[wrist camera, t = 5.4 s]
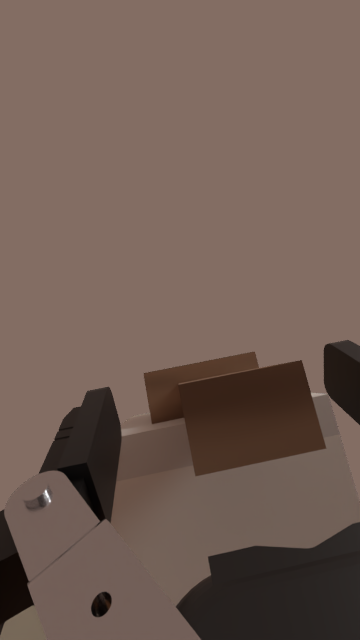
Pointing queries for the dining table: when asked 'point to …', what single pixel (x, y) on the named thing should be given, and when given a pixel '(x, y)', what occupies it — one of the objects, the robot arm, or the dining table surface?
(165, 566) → the cream stand
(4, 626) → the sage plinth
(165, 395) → the walnut paddle
